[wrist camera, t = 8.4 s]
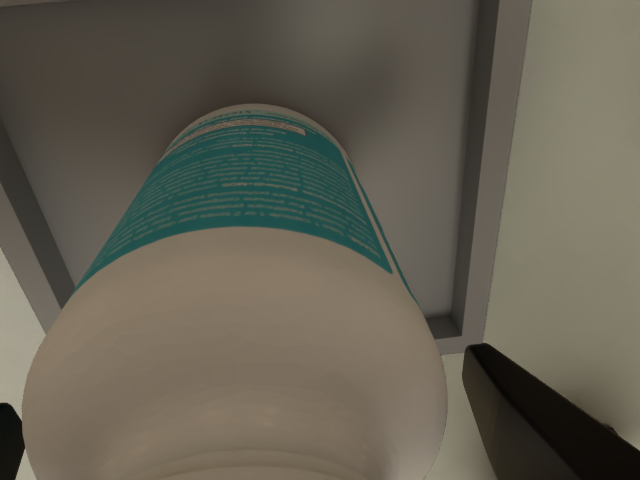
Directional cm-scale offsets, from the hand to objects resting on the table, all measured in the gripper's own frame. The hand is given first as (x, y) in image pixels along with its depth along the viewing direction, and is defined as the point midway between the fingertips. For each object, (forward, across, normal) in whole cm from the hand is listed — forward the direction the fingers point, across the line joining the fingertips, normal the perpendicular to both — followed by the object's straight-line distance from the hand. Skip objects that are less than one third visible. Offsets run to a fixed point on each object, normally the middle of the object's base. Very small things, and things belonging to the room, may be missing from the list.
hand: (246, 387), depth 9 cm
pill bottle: (+9, 0, 0) cm, 9 cm away
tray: (+10, 0, 0) cm, 10 cm away
